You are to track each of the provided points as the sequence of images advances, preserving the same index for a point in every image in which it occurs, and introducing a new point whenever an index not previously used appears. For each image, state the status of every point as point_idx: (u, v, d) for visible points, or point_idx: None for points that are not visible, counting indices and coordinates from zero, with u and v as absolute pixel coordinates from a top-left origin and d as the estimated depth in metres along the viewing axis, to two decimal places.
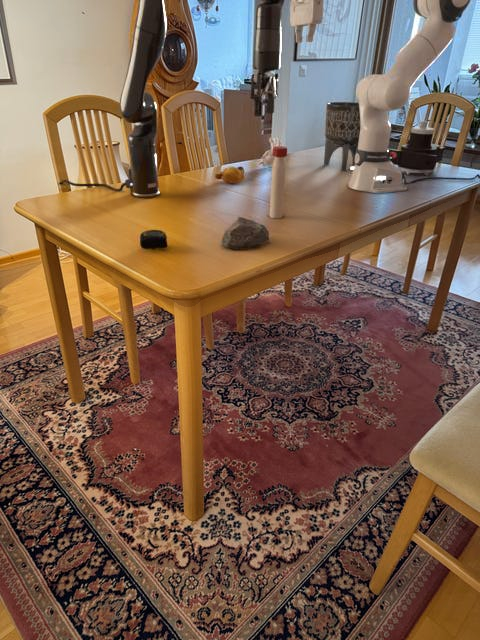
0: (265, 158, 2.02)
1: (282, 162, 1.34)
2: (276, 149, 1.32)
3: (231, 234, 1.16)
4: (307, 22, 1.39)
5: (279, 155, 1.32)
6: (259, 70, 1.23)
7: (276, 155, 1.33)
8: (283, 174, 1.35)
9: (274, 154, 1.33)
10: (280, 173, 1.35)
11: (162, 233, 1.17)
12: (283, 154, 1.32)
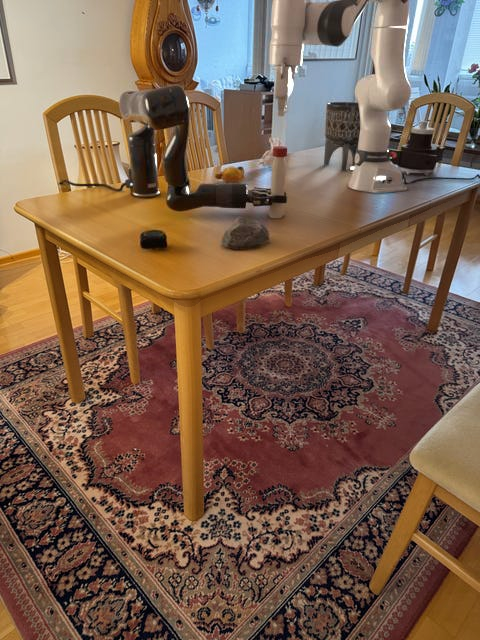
0: (265, 158, 2.02)
1: (282, 162, 1.34)
2: (276, 149, 1.32)
3: (231, 234, 1.16)
4: None
5: (279, 155, 1.32)
6: None
7: (276, 155, 1.33)
8: (283, 174, 1.35)
9: (274, 154, 1.33)
10: (280, 173, 1.35)
11: (162, 233, 1.17)
12: (283, 154, 1.32)
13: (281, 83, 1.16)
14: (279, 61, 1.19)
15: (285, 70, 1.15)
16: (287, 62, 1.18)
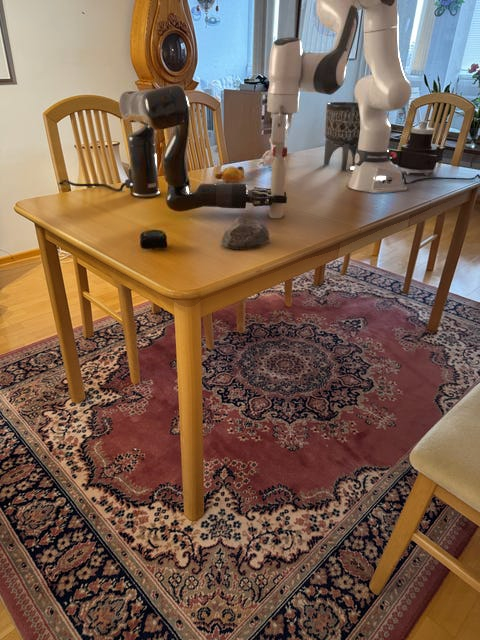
0: (265, 158, 2.02)
1: (282, 162, 1.34)
2: None
3: (231, 234, 1.16)
4: None
5: None
6: None
7: None
8: (283, 174, 1.35)
9: (274, 154, 1.33)
10: (280, 173, 1.35)
11: (162, 233, 1.17)
12: (283, 154, 1.32)
13: (278, 131, 1.22)
14: (276, 109, 1.24)
15: (282, 119, 1.21)
16: (284, 110, 1.24)
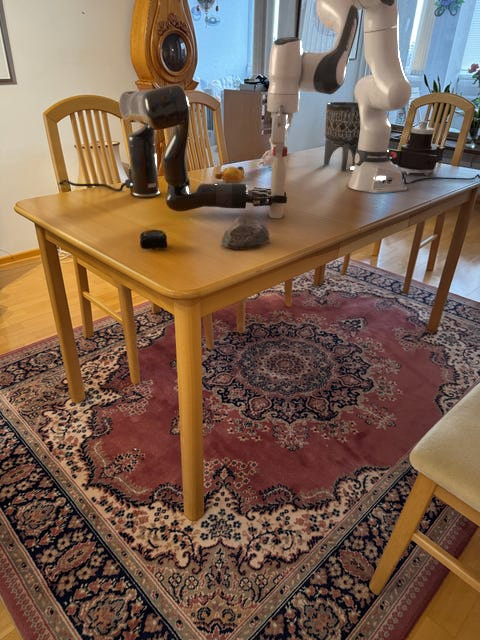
0: (265, 158, 2.02)
1: (282, 162, 1.34)
2: (285, 149, 1.32)
3: (231, 234, 1.16)
4: None
5: (286, 154, 1.34)
6: None
7: (285, 155, 1.33)
8: (283, 174, 1.35)
9: (283, 154, 1.32)
10: (280, 173, 1.35)
11: (162, 233, 1.17)
12: None
13: (278, 131, 1.22)
14: (276, 109, 1.24)
15: (282, 119, 1.21)
16: (284, 110, 1.24)
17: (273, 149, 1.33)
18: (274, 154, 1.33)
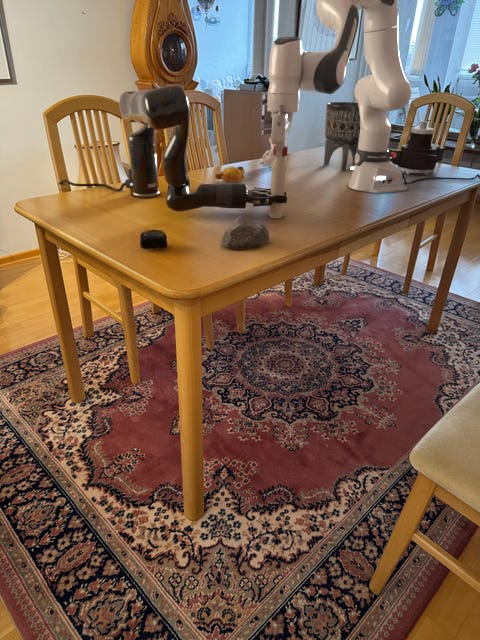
0: (265, 158, 2.02)
1: (282, 162, 1.34)
2: None
3: (231, 234, 1.16)
4: None
5: None
6: None
7: None
8: (284, 174, 1.35)
9: None
10: (280, 173, 1.35)
11: (162, 233, 1.17)
12: None
13: (278, 130, 1.22)
14: (276, 108, 1.24)
15: (282, 118, 1.21)
16: (284, 109, 1.24)
17: None
18: (283, 154, 1.32)
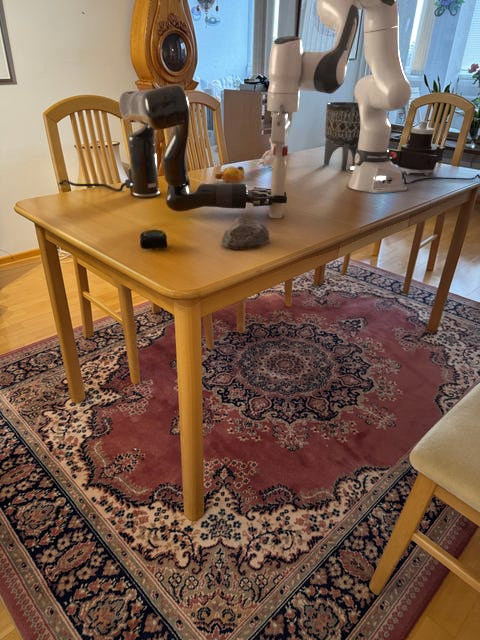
0: (265, 158, 2.02)
1: (282, 162, 1.34)
2: None
3: (231, 234, 1.16)
4: None
5: None
6: None
7: None
8: (284, 174, 1.35)
9: None
10: (280, 173, 1.35)
11: (162, 233, 1.17)
12: (273, 152, 1.33)
13: (278, 130, 1.22)
14: (276, 108, 1.24)
15: (282, 118, 1.21)
16: (284, 109, 1.24)
17: (287, 149, 1.33)
18: None
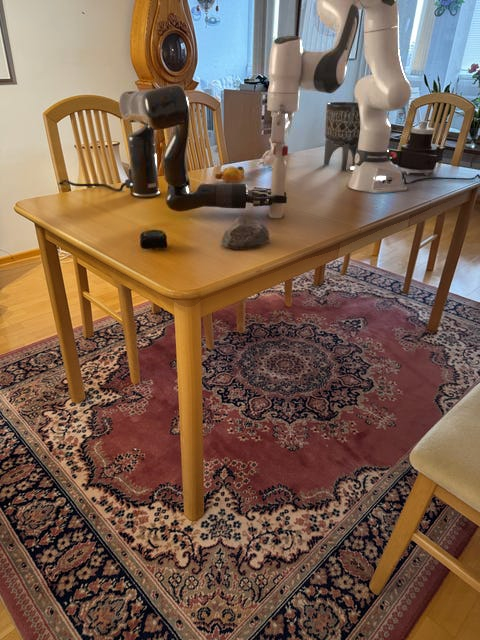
0: (265, 158, 2.02)
1: (282, 162, 1.34)
2: (275, 147, 1.32)
3: (231, 234, 1.16)
4: None
5: None
6: None
7: (274, 153, 1.33)
8: (284, 174, 1.35)
9: (273, 152, 1.33)
10: (280, 173, 1.35)
11: (162, 233, 1.17)
12: None
13: (278, 129, 1.22)
14: (276, 108, 1.24)
15: (281, 117, 1.21)
16: (284, 109, 1.24)
17: None
18: None
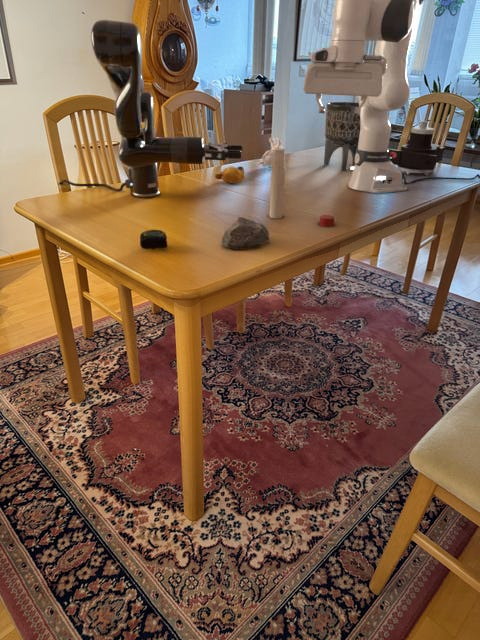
0: (265, 158, 2.02)
1: (282, 162, 1.34)
2: (330, 219, 1.35)
3: (231, 234, 1.16)
4: (365, 94, 1.16)
5: (332, 224, 1.36)
6: None
7: (330, 225, 1.36)
8: (283, 174, 1.35)
9: (328, 224, 1.35)
10: (279, 174, 1.35)
11: (162, 233, 1.17)
12: (333, 222, 1.37)
13: (382, 80, 1.15)
14: (362, 58, 1.13)
15: None
16: None
17: (320, 218, 1.37)
18: (320, 223, 1.37)
